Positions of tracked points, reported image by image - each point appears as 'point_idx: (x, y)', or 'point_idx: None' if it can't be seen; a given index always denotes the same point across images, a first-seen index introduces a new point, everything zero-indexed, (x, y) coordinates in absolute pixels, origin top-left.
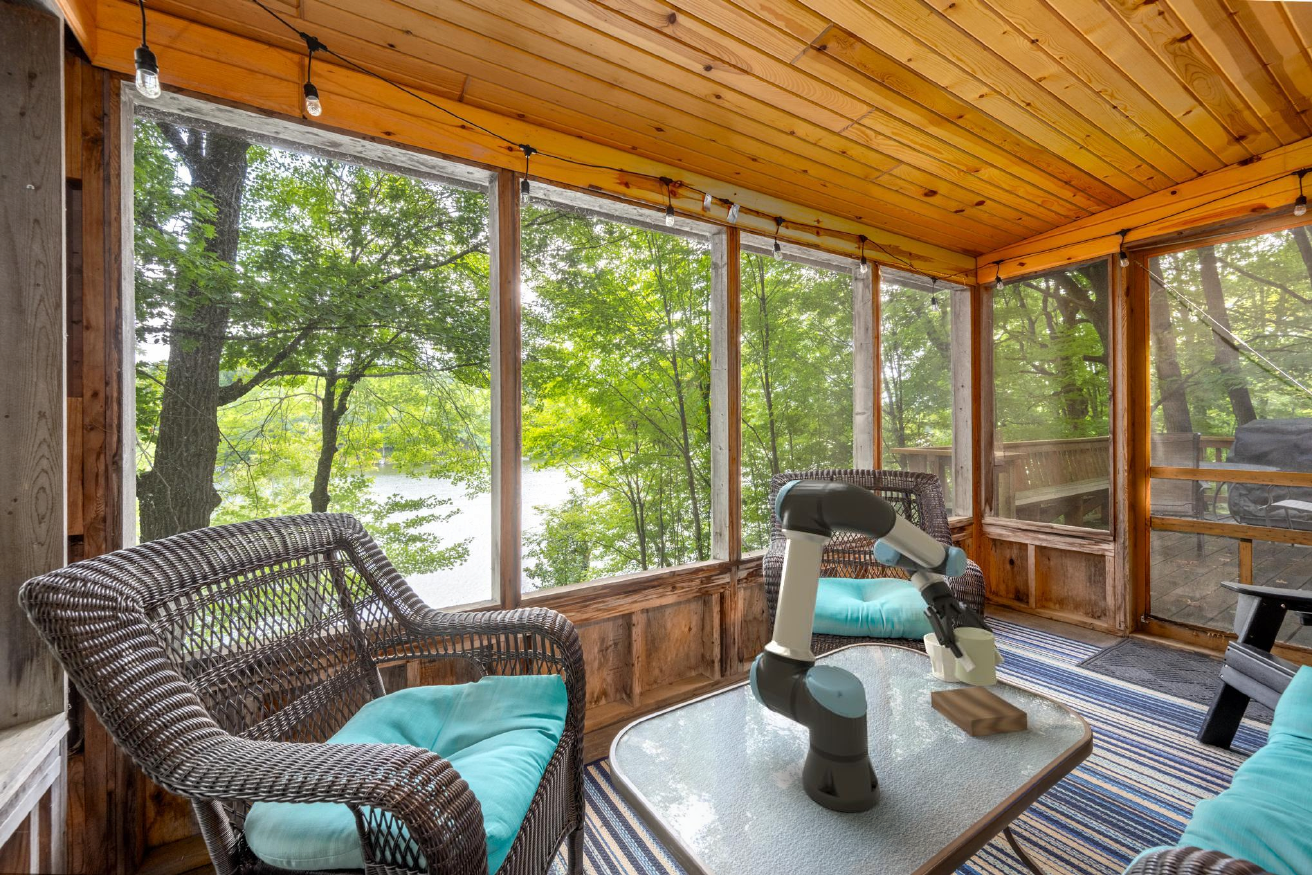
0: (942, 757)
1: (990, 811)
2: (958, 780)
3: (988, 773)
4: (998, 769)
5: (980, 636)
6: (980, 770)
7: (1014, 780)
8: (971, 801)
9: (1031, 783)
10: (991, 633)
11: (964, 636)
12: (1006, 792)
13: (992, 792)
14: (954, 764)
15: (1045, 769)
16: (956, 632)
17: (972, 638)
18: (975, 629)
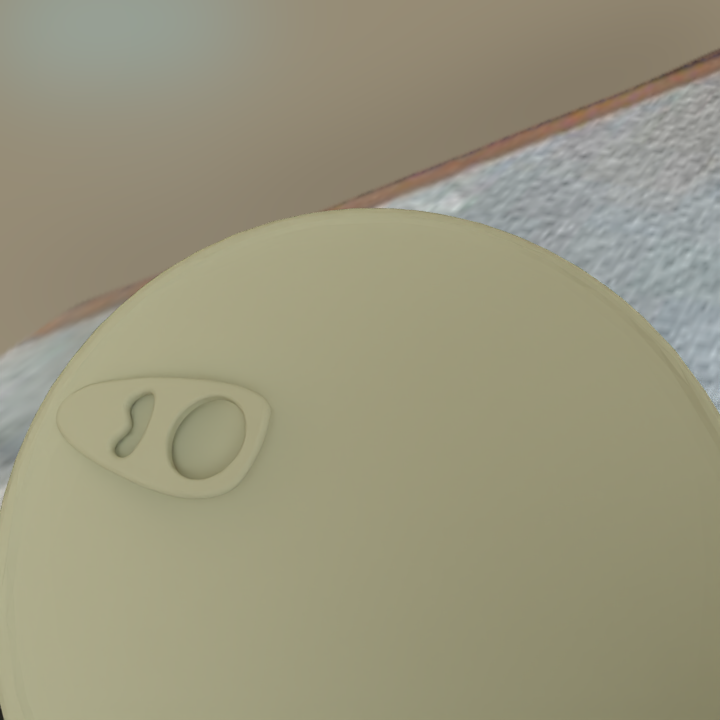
0: (715, 326)
1: (679, 84)
2: (712, 203)
3: (585, 217)
4: (534, 229)
5: (364, 353)
6: (605, 235)
7: (517, 174)
8: (715, 121)
9: (471, 154)
10: (51, 429)
11: (653, 409)
12: (583, 135)
13: (628, 141)
14: (686, 280)
15: (362, 203)
16: (716, 655)
17: (560, 303)
18: None
